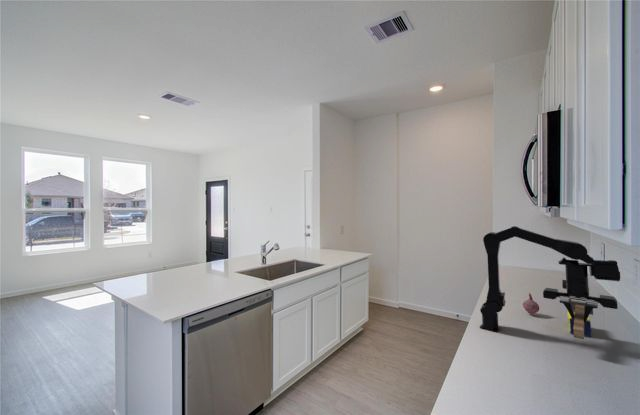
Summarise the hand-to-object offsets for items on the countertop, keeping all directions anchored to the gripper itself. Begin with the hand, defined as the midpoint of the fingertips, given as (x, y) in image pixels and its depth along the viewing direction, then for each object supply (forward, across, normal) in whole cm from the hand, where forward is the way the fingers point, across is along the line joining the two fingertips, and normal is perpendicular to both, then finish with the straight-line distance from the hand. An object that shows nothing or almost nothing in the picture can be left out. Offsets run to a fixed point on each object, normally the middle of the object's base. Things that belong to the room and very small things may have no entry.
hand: (579, 321), depth 95 cm
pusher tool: (+1, 0, -2) cm, 2 cm away
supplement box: (+6, 0, -10) cm, 12 cm away
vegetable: (+9, +17, -25) cm, 31 cm away
